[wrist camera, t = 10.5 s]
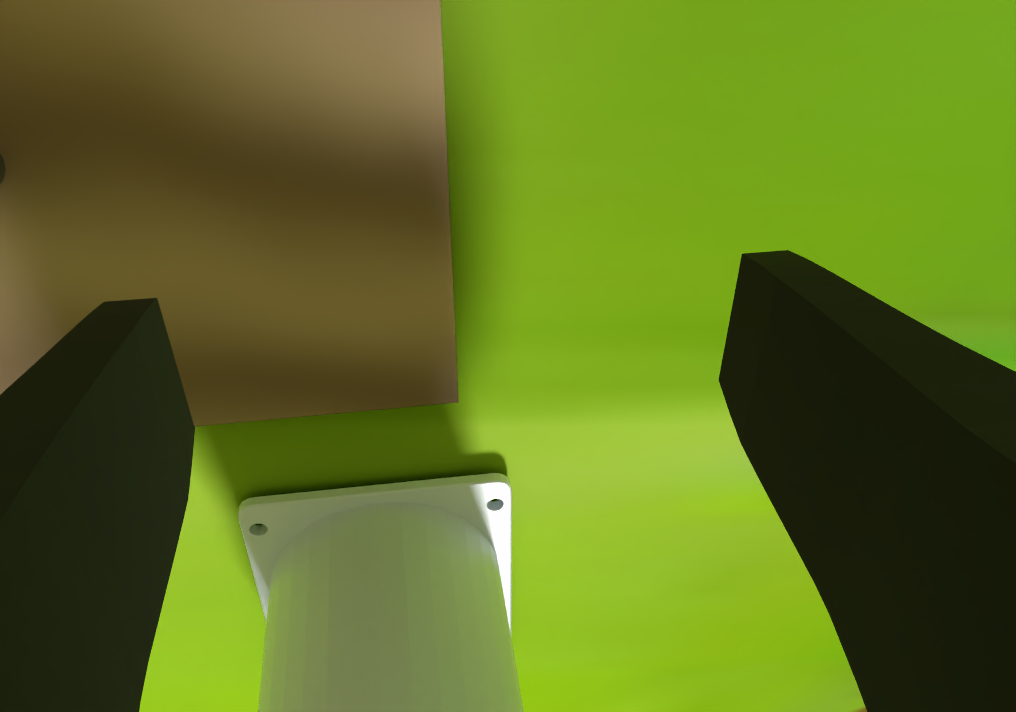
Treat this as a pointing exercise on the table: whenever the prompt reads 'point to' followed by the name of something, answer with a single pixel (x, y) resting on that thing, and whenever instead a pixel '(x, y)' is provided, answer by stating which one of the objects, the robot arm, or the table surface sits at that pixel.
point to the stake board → (234, 194)
